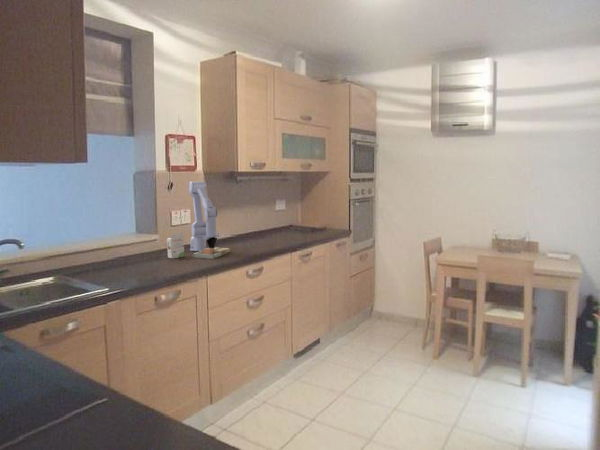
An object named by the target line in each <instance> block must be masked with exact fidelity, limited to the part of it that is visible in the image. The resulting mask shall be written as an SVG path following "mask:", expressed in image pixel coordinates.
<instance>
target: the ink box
mask: <svg viewBox="0 0 600 450" xmlns="http://www.w3.org/2000/svg"><path fill="white" fill-rule="evenodd" d="M184 239H185V238H184V232H183V231H182V232H175V233H171V234H170V237H167V238H166V245H167V246H166V247H167V258H169V259H178V258H183V257H185V242H184V241H185V240H184Z"/></svg>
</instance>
